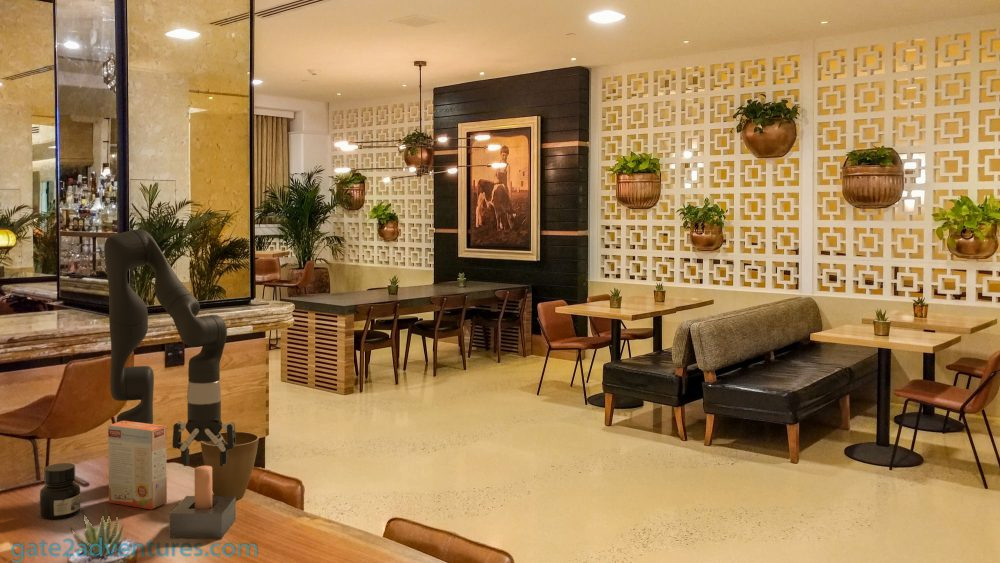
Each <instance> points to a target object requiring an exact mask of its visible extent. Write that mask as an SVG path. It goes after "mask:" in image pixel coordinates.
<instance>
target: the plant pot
mask: <svg viewBox="0 0 1000 563" xmlns="http://www.w3.org/2000/svg"><path fill="white" fill-rule="evenodd" d="M219 433H220V434H221V435H222V437H223V438H224V440H225V442H226V443H228V437H227V433H226V432H225V431H224V432H222V431H221V432H219ZM235 438H236V445H235V446H234V447H233V448H232V449H228V461H227V463H226V464H225V465H224V466H220V451H221V450H220V449H219V447H218V446H217V445H215V444H214V442H213V441H210V442H206V441H200V446H201V454H202V455H201V456H202V459H203V460H202V461H203V466H211V467H212V495H213V496H236V500H240V499H241V498H243V497H244V495H245V493H246V491H247V487H248V485H249V484H250V480H251V477H252V473H253V470H254V466H255V462H256V458H257V451H258V446H259V438H260V436H258V434H255V433H252V432H247V431H235Z"/></svg>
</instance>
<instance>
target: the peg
mask: <svg viewBox="0 0 1000 563" xmlns="http://www.w3.org/2000/svg"><path fill="white" fill-rule="evenodd" d="M194 496H195V509H212V496H213V491H212V467H211V466H205V465H201V466H196V467H195V468H194Z"/></svg>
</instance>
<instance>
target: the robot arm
mask: <svg viewBox="0 0 1000 563" xmlns="http://www.w3.org/2000/svg"><path fill="white" fill-rule="evenodd" d="M103 246H104V247H103V252H104V262H105V269H106V270H105V271H106V276H107V285H108V299H109V302H108V303H109V304H108V306H109V309H108V311H109V313H108V314H109V316H108V320H109V334H110V335H109V337H110V347H111V349H110V354H111V355H110V378H109V380H110V381H109V385H110V388H109V389H110V395H111V397H112V399H113V400H115V401H119V402H120V401H121V402H124V401H125V402H126V401H140V402H139V403H138V404H137V405H135V406H134V407H131V408H130V409H128V410H124V411H122V412H121V413H118V414H117V416H116V423H117V422H120V421H131V422H139V423H147V424H154V410H153V409H154V407H153V406H154V405H153V404H154V387H155V385H154V384H155V383H154V382H155V381H154V380H155V378H154V376H155V375H154V370H153V369H152V367H151V366H150V365H139V366H138V365H137V366H134V365H133V366H126V363H127V361H128V359H129V358H130V356H131V354H132V353H133V352H134V351H135V350H136V349H137V347H139V345H140V344H141V343H142V342H143V340H144V339H145V337H146V335H147V333H148V329H149V314H148V313H149V311H148V310H149V309H148V307H147V304H146V303H145V300H143V299H142V298H141V296H139V295H138V294H137V293H136V291H135V290H133V289H132V287H131V285H130V284H129V281H128V271H129V270H133V269H135V268H140V267H143V266H145V265H148V266H149V267H150V268H151V269H152V270H153V272H154V276H155V277H154V278H155V279H154V281H155V282H154V291H155V293H154V294H155V297H156V299H157V301H158V303H159V304H160V305H161V307H162V308H163V309H164V310H165V311H166V313H167V314H168V315H169V316H170V317H171V318H172V321H173V323H174V326H175V327H176V330H177V332H178V335H179V338H180V339H181V341H182V343H183V344H185V345H187V346H189V347H191V348H200V347H202V348H201V350H200V352H198V354H196V355H194V356H192V357H190V359H189V361H188V366H187V367H188V371H187V372H188V373H187V374H188V384H187V390H186V391H187V395H186V401H187V421H186V422H182V421H180V420H179V421H177V422H176V423H175V424H173V426H172V427H173V430H172V432H173V433H172V449H178V450H180V462H181V464H183V467H188V466H189V465H190V448H189V446H191V444H192V443H193V442H194V441H196V442H200V443H201V441H206V442H210V441H213V442H214V444H215V445H217V446H218V447H219V449H220V450H221V451H220V466H224V465H225V464H226V463H227V461H228V449H232V448H233V447H234V446H235V445H236V438H235V432H236V427H235V426H236V424H235V422H234V421H231V422H229V423H223V422H222V403H221V402H222V398H221V397H222V388H221V380H220V379H221V378H220V376H221V374H220V373H221V372H220V371H221V368H220V367H221V366H220V365H221V359H222V356H223V352H224V349H225V345H226V341H227V337H228V336H227V335H228V328H227V324H226V322H225V321H224V319H223V317H221V316H220V315H217V314H210V315H202V316H197V315H198V314H199V313H200V311H201V306H200V302H199V301H198V300H197V299H196V297H195V296H194V295H193V294H192V293H191V291H190V290H189V289H188V288H187V287H186V286H185V285H184V284H183V282H182V281H181V280H180V279H179V278H178V275H177V274H176V273H175V271H174V270H173V268H172V266H171V264H170V263H169V261H168V259H167V257H166V256H165V254H164V253H163V251H162V250H161V248H160V247H159V245H158V244H157V241H156V240H155V238H153V236H152V235H151V234H150V233H149V232H148V231H147V230H145V229H143V228H140V229H139V228H138V229H132V230H128V231H123V232H120V233H115V234H112V235H109V236H108V237H106V239H105V241H104V244H103ZM185 429H186V431H187V432H188V434H189V436H187V438H186V439H185V441H184V442H182V432H183V431H184V430H185ZM222 430H224V432H226V433H227V437H228V443H226V442H225V440H224V438H223V437H222V435H221V434H220V433H221V432H222Z"/></svg>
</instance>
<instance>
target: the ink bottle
mask: <svg viewBox="0 0 1000 563" xmlns="http://www.w3.org/2000/svg"><path fill="white" fill-rule="evenodd" d="M43 473H44V474H43V478H44V479H43V480H44V486H43V487H42V488H41V489H40V490H39V513H40V514H39V515H40V517H41V518H42V519H45V520H63V519H68V518H71V517H73V516H75V515H77V514H78V513H80V511H81V486H80V485H79V483H77V482H75V480H76V465H75V464H74V463H71V462H70V463H69V462H62V463H61V462H60V463H54V464H50V465H47V466H45V467H44V469H43Z"/></svg>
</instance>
